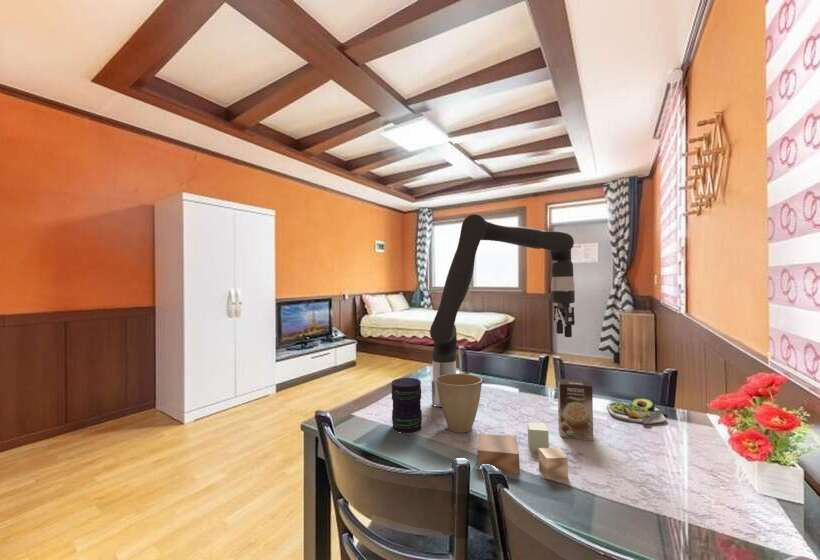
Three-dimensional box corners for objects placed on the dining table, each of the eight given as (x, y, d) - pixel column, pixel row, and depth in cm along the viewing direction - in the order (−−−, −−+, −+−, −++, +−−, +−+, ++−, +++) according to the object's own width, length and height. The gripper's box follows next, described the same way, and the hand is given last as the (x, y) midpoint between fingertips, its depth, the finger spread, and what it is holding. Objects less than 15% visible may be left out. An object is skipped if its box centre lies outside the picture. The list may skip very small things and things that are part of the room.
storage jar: (426, 424, 114) (425, 379, 114) (414, 435, 105) (413, 387, 105) (400, 419, 118) (399, 376, 118) (386, 430, 109) (385, 384, 109)
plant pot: (492, 427, 110) (491, 378, 110) (464, 442, 100) (463, 388, 100) (455, 415, 121) (454, 370, 121) (427, 428, 110) (426, 379, 111)
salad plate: (676, 432, 104) (676, 417, 104) (609, 423, 112) (609, 409, 112) (663, 411, 122) (662, 398, 122) (605, 404, 130) (605, 392, 130)
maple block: (547, 479, 80) (546, 458, 80) (539, 468, 85) (538, 448, 85) (568, 478, 80) (567, 457, 80) (558, 467, 85) (558, 447, 85)
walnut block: (478, 470, 85) (477, 450, 85) (479, 451, 95) (478, 433, 95) (519, 474, 83) (519, 453, 83) (516, 454, 92) (516, 436, 93)
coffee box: (560, 437, 102) (558, 383, 102) (558, 428, 108) (556, 378, 108) (594, 441, 99) (592, 386, 99) (590, 432, 105) (588, 380, 105)
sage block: (529, 451, 94) (529, 429, 94) (528, 443, 99) (527, 422, 99) (548, 453, 93) (548, 430, 93) (546, 444, 98) (545, 423, 98)
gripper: (546, 289, 128) (547, 332, 128) (558, 290, 114) (559, 338, 113) (566, 289, 127) (567, 332, 127) (581, 289, 113) (583, 338, 113)
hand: (563, 335), depth 120 cm, fingers open, 8 cm apart
